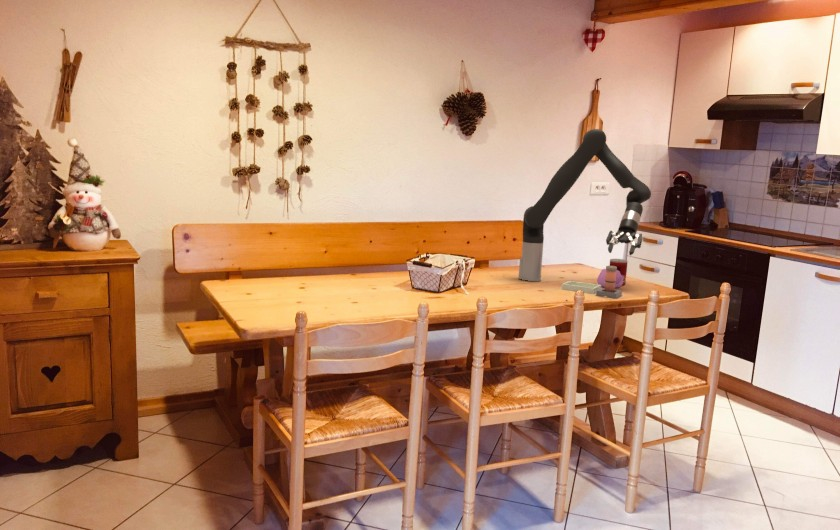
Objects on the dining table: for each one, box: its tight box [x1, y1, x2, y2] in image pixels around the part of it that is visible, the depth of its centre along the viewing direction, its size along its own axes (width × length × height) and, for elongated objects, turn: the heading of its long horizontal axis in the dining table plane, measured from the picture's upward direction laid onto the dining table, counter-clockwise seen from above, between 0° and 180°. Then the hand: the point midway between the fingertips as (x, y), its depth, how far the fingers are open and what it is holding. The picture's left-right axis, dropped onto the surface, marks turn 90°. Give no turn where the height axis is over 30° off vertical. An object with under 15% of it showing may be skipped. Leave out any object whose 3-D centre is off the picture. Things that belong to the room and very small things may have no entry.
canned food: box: [609, 258, 628, 286], centre depth 319 cm, size 8×8×11 cm
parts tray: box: [560, 280, 602, 295], centre depth 298 cm, size 14×10×3 cm
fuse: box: [603, 265, 617, 293], centre depth 287 cm, size 4×4×12 cm
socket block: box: [594, 287, 623, 300], centre depth 288 cm, size 9×11×3 cm
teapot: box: [596, 268, 624, 289], centre depth 307 cm, size 10×15×9 cm
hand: (620, 252), depth 295 cm, fingers open, 8 cm apart
